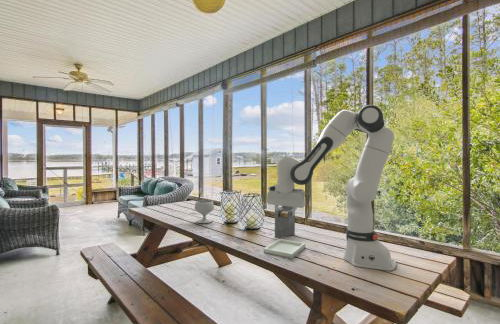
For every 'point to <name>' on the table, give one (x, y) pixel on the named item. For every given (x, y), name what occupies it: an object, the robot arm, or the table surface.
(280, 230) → the hip flask
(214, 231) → the table surface
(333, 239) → the table surface
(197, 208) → the chalice
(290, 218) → the caddy
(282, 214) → the block
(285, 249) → the tray
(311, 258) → the table surface
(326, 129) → the robot arm
